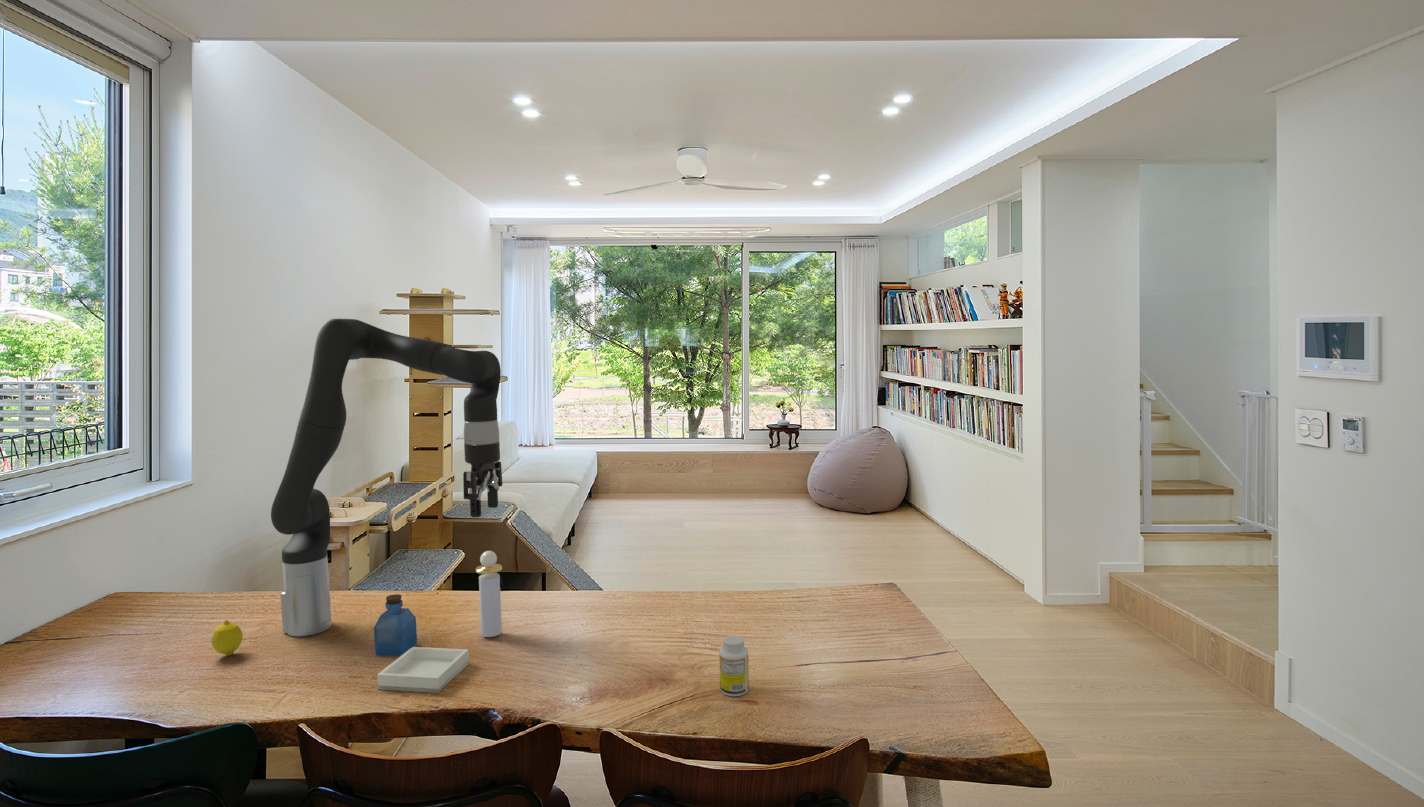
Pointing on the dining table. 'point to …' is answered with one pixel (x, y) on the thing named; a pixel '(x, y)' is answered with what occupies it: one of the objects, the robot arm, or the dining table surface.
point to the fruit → (227, 638)
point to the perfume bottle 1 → (395, 629)
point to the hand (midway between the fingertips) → (484, 512)
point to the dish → (423, 669)
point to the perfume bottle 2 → (490, 594)
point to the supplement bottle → (734, 667)
